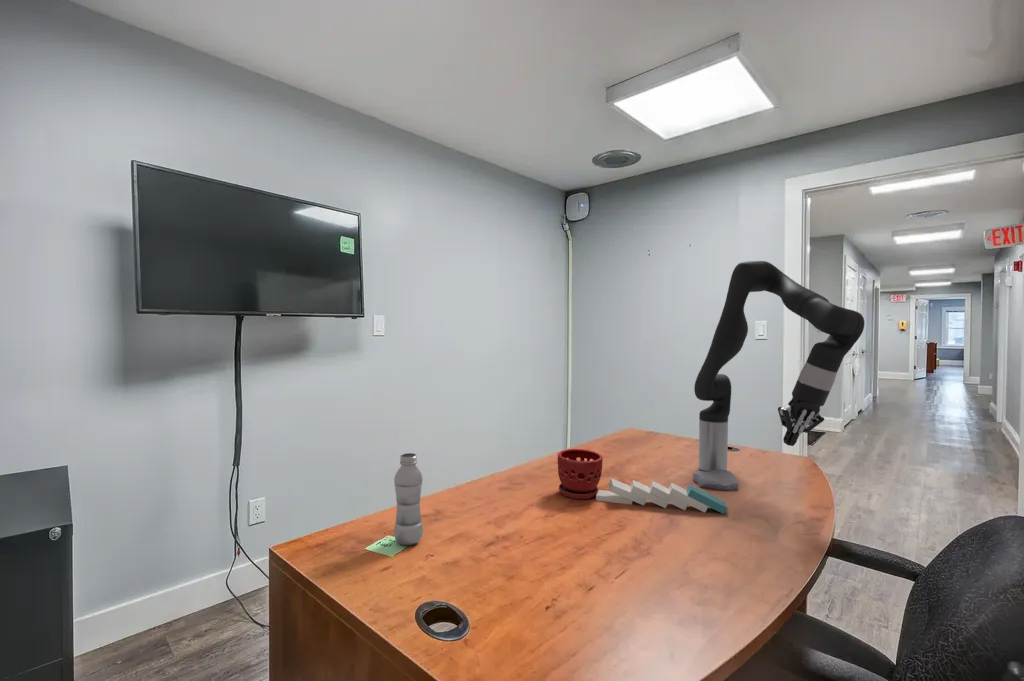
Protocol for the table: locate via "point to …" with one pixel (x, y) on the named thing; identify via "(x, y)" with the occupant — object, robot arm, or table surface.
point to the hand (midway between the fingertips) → (788, 444)
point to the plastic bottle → (408, 501)
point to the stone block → (716, 479)
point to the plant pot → (579, 473)
